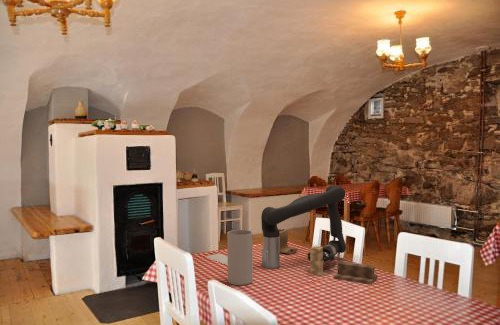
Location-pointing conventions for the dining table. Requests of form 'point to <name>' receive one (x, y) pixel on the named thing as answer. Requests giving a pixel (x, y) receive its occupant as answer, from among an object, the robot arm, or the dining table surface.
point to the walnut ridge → (355, 273)
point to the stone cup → (285, 243)
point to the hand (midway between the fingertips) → (316, 259)
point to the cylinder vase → (240, 257)
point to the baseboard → (219, 258)
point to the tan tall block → (316, 260)
